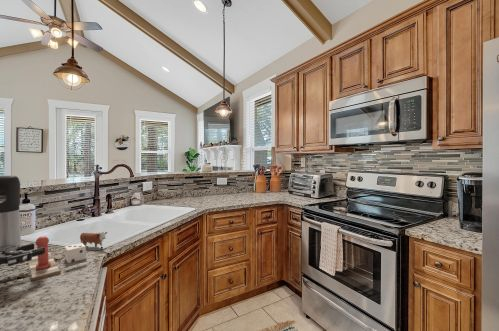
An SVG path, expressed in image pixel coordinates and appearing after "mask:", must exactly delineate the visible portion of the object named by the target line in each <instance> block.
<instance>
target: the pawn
mask: <svg viewBox="0 0 499 331" xmlns="http://www.w3.org/2000/svg"><path fill="white" fill-rule="evenodd" d="M49 243H50V239H49V237H47V236H45V235H44V236H43V235H42V236H39V237H38V238H37V239H35V245H36V249H39V248H42V247H43V248H45V253H44V254H42V255H38V264H37V265H36V269H37V270H40V271H41V270H42V269H44V270H45V269H46V268H49V267H50V266H51V262H49V260H48V252H49Z"/></svg>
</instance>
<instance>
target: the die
mask: <svg viewBox="0 0 499 331" xmlns="http://www.w3.org/2000/svg"><path fill="white" fill-rule="evenodd" d="M64 259H65V261H66V262H67V263H68V264H70V263H74V262H78V261H82V260H86V259H87V245H86V246H85V245H84V244H83V243H81V242H79V243H75V244H70V245H65V246H64Z"/></svg>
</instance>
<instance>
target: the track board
mask: <svg viewBox="0 0 499 331" xmlns="http://www.w3.org/2000/svg"><path fill="white" fill-rule="evenodd" d="M48 260H49V262H51V266H50V267H49V268H46V269H42V270H37V269H36V265H37V264H38V256H34V257H32V260H30V261H27V264H28V266H29V269H30V273H31V275H30V276H29V278H30V280H31V282H33V281H38V280H40V279H45V278H48V277H51V276H56V275H59V274H61V273H62V271H61V268H59V267H58V264H57V263H56V261H55V259H54V257H53V255H52V253H51V251H48Z"/></svg>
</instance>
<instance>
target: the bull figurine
mask: <svg viewBox="0 0 499 331" xmlns="http://www.w3.org/2000/svg"><path fill="white" fill-rule="evenodd" d="M107 234H108V232H107V231H106V232H105V231H99V232H93V233H91V232H82V233H80V236H79V238H80V243H83V244H84V245H85V246H86V247H87V245H88V244H90V245H92V244H94V248H97V246H98V245H99V246H100V245H101V246H103V241H104V240H106V238H107V237H106V235H107Z"/></svg>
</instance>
